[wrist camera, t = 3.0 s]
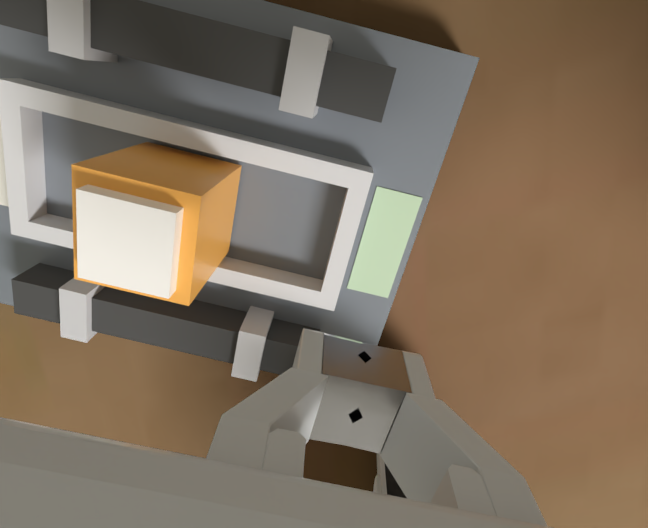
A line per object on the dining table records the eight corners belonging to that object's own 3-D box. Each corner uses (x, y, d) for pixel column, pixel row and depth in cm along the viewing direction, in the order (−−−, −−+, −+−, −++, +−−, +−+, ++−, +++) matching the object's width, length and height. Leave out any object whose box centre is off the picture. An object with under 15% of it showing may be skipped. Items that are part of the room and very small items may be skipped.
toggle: (241, 165, 17) (194, 201, 12) (228, 251, 19) (182, 315, 14) (147, 141, 17) (58, 168, 12) (142, 230, 19) (62, 287, 13)
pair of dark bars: (395, 58, 15) (401, 54, 13) (310, 363, 21) (306, 393, 19) (20, -42, 15) (-33, -61, 13) (41, 301, 21) (8, 324, 19)
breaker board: (465, 60, 17) (489, 56, 14) (361, 363, 24) (363, 403, 21) (-20, -69, 16) (-102, -102, 13) (13, 281, 23) (-36, 311, 20)
